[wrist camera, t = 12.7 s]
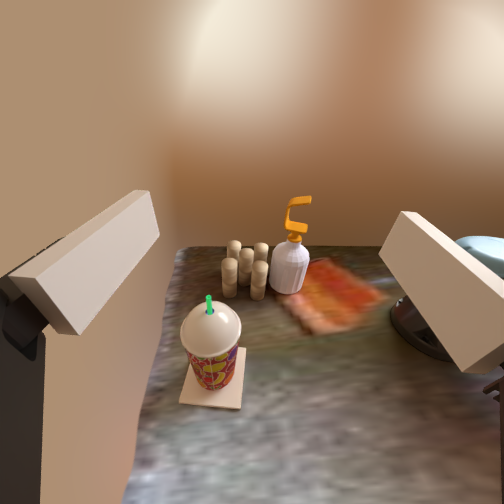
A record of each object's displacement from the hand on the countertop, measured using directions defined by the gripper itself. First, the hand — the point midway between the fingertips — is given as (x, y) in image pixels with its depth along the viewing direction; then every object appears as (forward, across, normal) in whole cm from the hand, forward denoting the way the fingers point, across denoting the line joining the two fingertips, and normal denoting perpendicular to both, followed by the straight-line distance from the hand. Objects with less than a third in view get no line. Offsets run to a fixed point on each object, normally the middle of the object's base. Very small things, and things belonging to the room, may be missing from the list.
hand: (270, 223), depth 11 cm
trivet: (+7, -6, -35) cm, 36 cm away
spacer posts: (+30, -3, -35) cm, 46 cm away
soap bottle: (+32, +8, -35) cm, 48 cm away
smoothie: (+7, -6, -34) cm, 36 cm away
